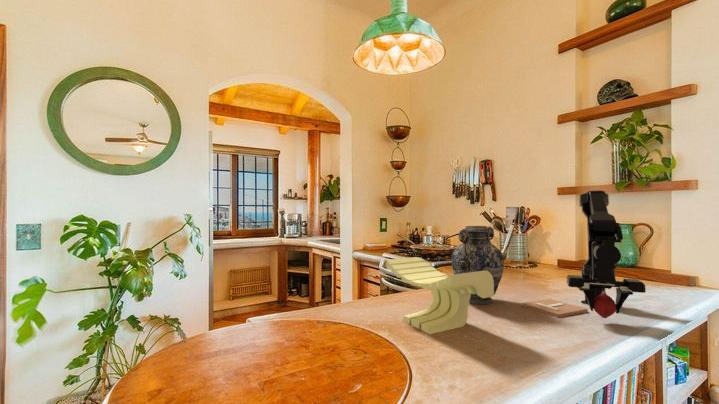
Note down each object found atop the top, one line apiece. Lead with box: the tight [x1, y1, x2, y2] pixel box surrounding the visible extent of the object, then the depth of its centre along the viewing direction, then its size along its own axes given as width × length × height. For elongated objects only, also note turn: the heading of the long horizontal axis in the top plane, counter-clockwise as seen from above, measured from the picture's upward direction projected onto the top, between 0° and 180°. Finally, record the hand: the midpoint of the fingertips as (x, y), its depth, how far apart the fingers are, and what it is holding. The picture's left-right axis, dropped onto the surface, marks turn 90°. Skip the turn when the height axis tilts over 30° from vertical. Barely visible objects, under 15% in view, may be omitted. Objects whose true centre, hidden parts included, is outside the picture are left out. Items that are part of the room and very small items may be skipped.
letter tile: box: [521, 298, 588, 318], centre depth 117 cm, size 14×14×1 cm
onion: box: [593, 291, 616, 319], centre depth 103 cm, size 6×6×8 cm
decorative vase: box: [451, 225, 505, 305], centre depth 128 cm, size 21×19×28 cm
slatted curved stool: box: [386, 256, 495, 335], centre depth 104 cm, size 30×16×18 cm, turn 29°
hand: (604, 311), depth 103 cm, fingers closed on onion, 6 cm apart
